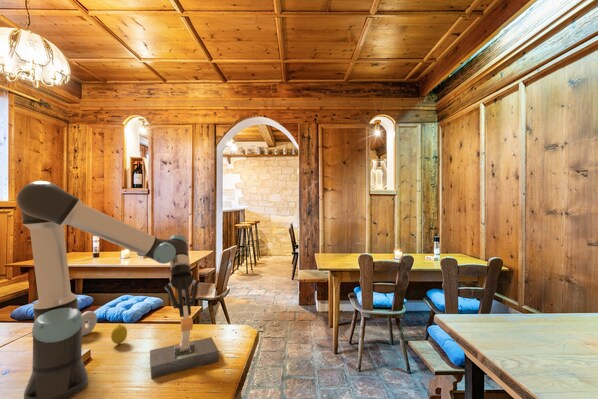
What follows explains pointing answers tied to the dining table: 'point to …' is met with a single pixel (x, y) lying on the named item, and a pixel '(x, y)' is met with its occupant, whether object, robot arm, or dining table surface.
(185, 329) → the lever
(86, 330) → the donut
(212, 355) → the box
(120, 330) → the lemon
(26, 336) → the dining table surface
